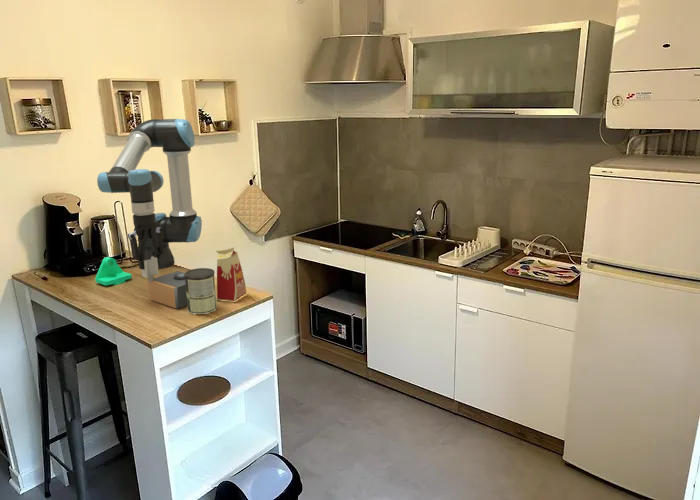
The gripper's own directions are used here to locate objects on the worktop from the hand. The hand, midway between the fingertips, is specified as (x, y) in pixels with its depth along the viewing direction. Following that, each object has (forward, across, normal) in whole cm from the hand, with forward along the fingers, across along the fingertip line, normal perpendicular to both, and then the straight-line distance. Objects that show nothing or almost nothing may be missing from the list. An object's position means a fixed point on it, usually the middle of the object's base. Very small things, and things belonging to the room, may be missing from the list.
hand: (150, 275), depth 198 cm
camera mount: (+11, +4, +32) cm, 34 cm away
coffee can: (+10, +5, -22) cm, 25 cm away
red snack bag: (+10, +19, -21) cm, 30 cm away
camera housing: (+10, +7, -6) cm, 14 cm away
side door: (+10, 0, -6) cm, 12 cm away
